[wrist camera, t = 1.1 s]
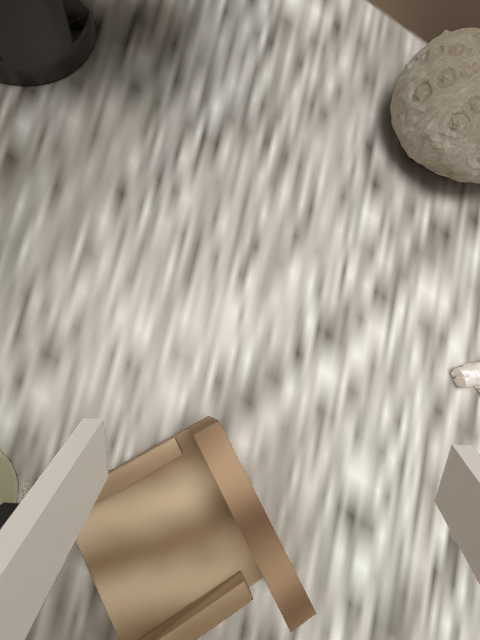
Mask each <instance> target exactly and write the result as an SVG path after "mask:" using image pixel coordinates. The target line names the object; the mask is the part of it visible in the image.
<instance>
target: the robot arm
mask: <svg viewBox="0 0 480 640" xmlns="http://www.w3.org/2000/svg"><path fill="white" fill-rule="evenodd" d="M95 40H96V23H95V18H94V14H93V9H92V5H91V1H90V0H0V82H4V83H9V84H16V85H36V84H43V83H48V82H52V81H55V80H58V79H60V78H63V77H65V76H67V75H69V74H70V73H72V72H73V71H75V70H76V69H78V68H79V67H80V66H81V65H82V64H83V63H84V62H85V61H86V59H87V58H88V57H89V55H90V54H91V52H92V50H93V47H94V44H95ZM108 476H109V475H108V465H107V455H106V444H105V434H104V423H103V419H91V418H83V419H82V420H81V422H80V423H79V424H78V426H77V427H76V429H75V430H74V431H73V433H72V434H71V435H70V437H69V438H68V439H67V441H66V442H65V443H64V445H63V446H62V447H61V449H60V450H59V451H58V453H57V454H56V455H55V457H54V458H53V459H52V461H51V462H50V463H49V465H48V466H47V468H46V469H45V470H44V472H43V473H42V474H41V476H40V477H39V478H38V480H37V481H36V482H35V484H34V485H33V486H32V488H31V489H30V490H29V492H28V493H27V494H26V496H25V497H24V498H23V500H22V501H21V502H20V503H7V502H3V503H2V504H1V505H0V640H25V638H26V636H27V635H28V633H29V631H30V629H31V627H32V625H33V623H34V621H35V619H36V617H37V615H38V613H39V611H40V609H41V607H42V605H43V603H44V601H45V599H46V597H47V595H48V594H49V592H50V590H51V588H52V586H53V584H54V582H55V580H56V578H57V576H58V574H59V572H60V570H61V568H62V566H63V564H64V562H65V560H66V558H67V556H68V554H69V553H70V551H71V549H72V547H73V545H74V543H75V541H76V539H77V537H78V535H79V533H80V531H81V529H82V527H83V525H84V523H85V521H86V519H87V517H88V515H89V513H90V512H91V510H92V508H93V506H94V504H95V502H96V500H97V498H98V496H99V494H100V492H101V490H102V488H103V486H104V484H105V482H106V480H107V478H108ZM435 503H436V505H437V506H438V508H439V510H440V512H441V514H442V516H443V517H444V519H445V521H446V523H447V525H448V527H449V528H450V530H451V532H452V534H453V536H454V538H455V539H456V541H457V543H458V545H459V547H460V549H461V550H462V552H463V554H464V556H465V558H466V560H467V562H468V563H469V565H470V567H471V569H472V571H473V573H474V574H475V576H476V578H477V580H478V582H479V584H480V454H479V453H478V452H477V451H476V449H475V448H474V447H473V446H467V445H453V444H452V446H451V449H450V452H449V456H448V459H447V462H446V465H445V469H444V472H443V475H442V479H441V482H440V485H439V489H438V492H437V495H436V498H435Z"/></svg>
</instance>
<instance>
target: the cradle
mask: <svg viewBox="0 0 480 640" xmlns="http://www.w3.org/2000/svg"><path fill="white" fill-rule="evenodd" d="M108 475H109V476H108V478H107V480H106V482H105V484H104V486H103V488H102V490H101V492H100V494H99V496H98V498H97V500H96V502H95V504H94V506H93V508H92V510H91V512H90V513H89V515H88V517H87V519H86V521H85V523H84V525H83V527H82V529H81V531H80V533H79V535H78V537H77V539H76V542H77V544H78V546H79V549H80V551H81V553H82V556H83V558H84V560H85V562H86V565H87V567H88V569H89V572H90V574H91V576H92V578H93V581H94V583H95V585H96V587H97V590H98V592H99V594H100V597H101V599H102V601H103V603H104V606H105V608H106V610H107V613H108V615H109V617H110V619H111V622H112V624H113V626H114V628H115V631H116V633H117V635H118V638H119V640H196V639H198V638H199V637H200V636H202V635H203V634H205V633H206V632H208V631H209V630H210V629H212V628H213V627H215V626H216V625H217V624H219V623H220V622H222V621H223V620H225V619H226V618H227V617H229V616H230V615H232V614H233V613H234V612H236V611H237V610H239V609H240V608H242V607H243V606H244V605H246V604H247V603H249V602H250V601H251V600H253V597H252V595H251V592H250V589H249V587H250V586H251V585H253V584H254V583H255V582H257V581H258V580H260V579H261V578H263V577H264V579H265V581H266V583H267V585H268V587H269V589H270V591H271V593H272V595H273V597H274V599H275V601H276V603H277V605H278V607H279V609H280V611H281V613H282V616H283V618H284V620H285V622H286V624H287V626H288V628H289V630H290V632H292V631H293V630H295V629H296V628H297V627H299V626H300V625H301V624H303V623H304V622H305V621H307V620H308V619H309V618H311V617H312V616H313V615H315V614H316V612H315V610H314V608H313V606H312V604H311V602H310V600H309V598H308V596H307V594H306V592H305V590H304V588H303V586H302V584H301V582H300V580H299V578H298V576H297V574H296V572H295V570H294V568H293V566H292V564H291V562H290V560H289V558H288V557H287V555H286V553H285V551H284V549H283V547H282V545H281V543H280V541H279V539H278V537H277V535H276V533H275V531H274V529H273V527H272V525H271V523H270V521H269V519H268V517H267V515H266V513H265V511H264V509H263V507H262V505H261V503H260V501H259V499H258V497H257V495H256V493H255V491H254V489H253V487H252V485H251V483H250V481H249V479H248V477H247V475H246V473H245V471H244V470H243V468H242V466H241V464H240V462H239V460H238V458H237V456H236V454H235V452H234V450H233V448H232V446H231V444H230V442H229V440H228V438H227V436H226V434H225V432H224V430H223V428H222V426H221V424H220V422H219V421H218V420H216V419H214V418H212V417H210V416H208V417H206V418H205V419H203V420H201V421H199V422H197V423H196V424H194V425H192V426H190V427H188V428H187V429H185V430H183V431H181V432H179V433H177V434H176V435H174V436H172V437H170V438H168V439H167V440H165V441H163V442H161V443H159V444H158V445H156V446H154V447H152V448H150V449H149V450H147V451H145V452H143V453H141V454H140V455H138V456H136V457H134V458H132V459H130V460H129V461H127V462H125V463H123V464H121V465H120V466H118V467H116V468H114V469H112V470H111V471H109V472H108Z"/></svg>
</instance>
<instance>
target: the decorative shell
mask: <svg viewBox="0 0 480 640" xmlns="http://www.w3.org/2000/svg"><path fill="white" fill-rule="evenodd" d="M390 111H391V124H392V127H393V128H394V131H395V133H396V136H397V137H398V139H399V140H400V144H401V146H402V148H403V149H404V150H405V151H406V153H407V155H408V157H409V158H412V159H413V160H414V161H415V162H416V163H419V164H421V165H423V166H424V167H426V168H427V169H429V170H431V171H433V172H434V173H436V174H438V175H440V176H445V177H449V178H450V179H453V180H455V181H457V182H463V183H464V182H472V183H476V184H479V183H480V29H478V28H463V29H459V30H456V31H453V32H449V31H448V30H445V31H444V32H443V33H442V34H441V36H439V37H437V38H434V39H433V40H432V41H430V42H429V43H428V44H427V45H426V46H425V47H424V48H423V49H421V50H420V51H419V52H418V53H417V54H415V55H414V56H413V57H412V59H411V60H410V61H409V63H408V64H406V66H405V68H404V70H403V72H402V74H401V76H400V77H399V78H398V80H397V82H396V84H395V86H394V91H393V95H392V100H391V105H390Z"/></svg>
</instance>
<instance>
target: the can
mask: <svg viewBox="0 0 480 640" xmlns="http://www.w3.org/2000/svg"><path fill="white" fill-rule="evenodd" d="M17 498H18V480H17V476H16V472H15V470H14V467H13V466H12V464H11V462H10V461H9V459H8V458H7V457H6V456H5V455H4V453H2V452H1V451H0V505H1V504H2V503H3V502H7V503H17Z"/></svg>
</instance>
